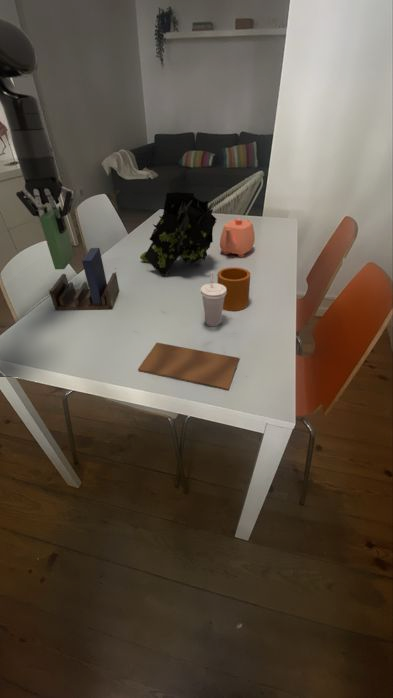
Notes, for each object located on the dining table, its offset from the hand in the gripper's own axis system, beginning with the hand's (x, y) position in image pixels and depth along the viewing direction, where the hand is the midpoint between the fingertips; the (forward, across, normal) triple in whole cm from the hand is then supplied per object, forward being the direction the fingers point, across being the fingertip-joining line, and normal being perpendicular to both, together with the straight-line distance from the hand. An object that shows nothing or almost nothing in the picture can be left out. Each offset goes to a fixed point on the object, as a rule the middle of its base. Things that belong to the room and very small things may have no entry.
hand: (56, 232), depth 81 cm
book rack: (+20, +4, 0) cm, 20 cm away
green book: (+8, 0, 0) cm, 8 cm away
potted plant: (+20, +29, +23) cm, 42 cm away
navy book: (+19, +8, 0) cm, 20 cm away
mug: (+20, +47, -2) cm, 51 cm away
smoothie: (+20, +40, -13) cm, 46 cm away
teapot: (+20, +51, +35) cm, 65 cm away
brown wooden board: (+20, +34, -30) cm, 49 cm away
